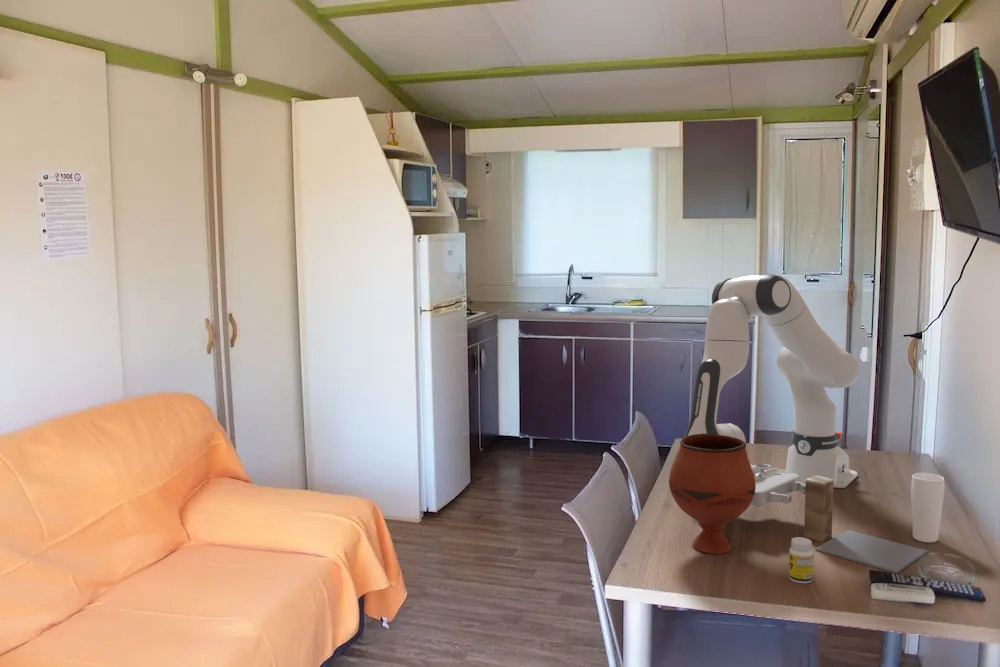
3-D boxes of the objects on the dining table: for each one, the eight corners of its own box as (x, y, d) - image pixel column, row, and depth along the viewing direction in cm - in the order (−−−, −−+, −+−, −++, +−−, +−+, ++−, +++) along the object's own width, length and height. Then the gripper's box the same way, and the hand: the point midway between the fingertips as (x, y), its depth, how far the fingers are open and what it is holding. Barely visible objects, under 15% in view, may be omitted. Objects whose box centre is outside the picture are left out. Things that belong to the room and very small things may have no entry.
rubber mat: (848, 532, 201) (848, 530, 201) (927, 552, 187) (927, 550, 187) (815, 550, 190) (815, 547, 190) (896, 573, 177) (896, 571, 177)
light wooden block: (813, 532, 201) (815, 475, 199) (831, 536, 198) (833, 479, 196) (804, 536, 198) (805, 479, 196) (822, 541, 195) (824, 483, 193)
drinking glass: (948, 543, 193) (951, 480, 191) (921, 545, 191) (924, 481, 190) (928, 533, 199) (931, 471, 197) (902, 535, 198) (905, 473, 196)
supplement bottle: (788, 573, 178) (789, 535, 176) (811, 575, 176) (813, 537, 175) (788, 582, 173) (790, 543, 172) (813, 585, 172) (814, 545, 171)
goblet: (679, 527, 206) (680, 427, 202) (760, 538, 197) (763, 435, 194) (659, 555, 188) (659, 446, 185) (747, 569, 180) (749, 455, 177)
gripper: (725, 479, 203) (778, 492, 193) (769, 462, 217) (820, 473, 207) (724, 504, 204) (777, 518, 194) (768, 486, 218) (819, 498, 208)
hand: (800, 495), depth 200 cm, fingers open, 8 cm apart
